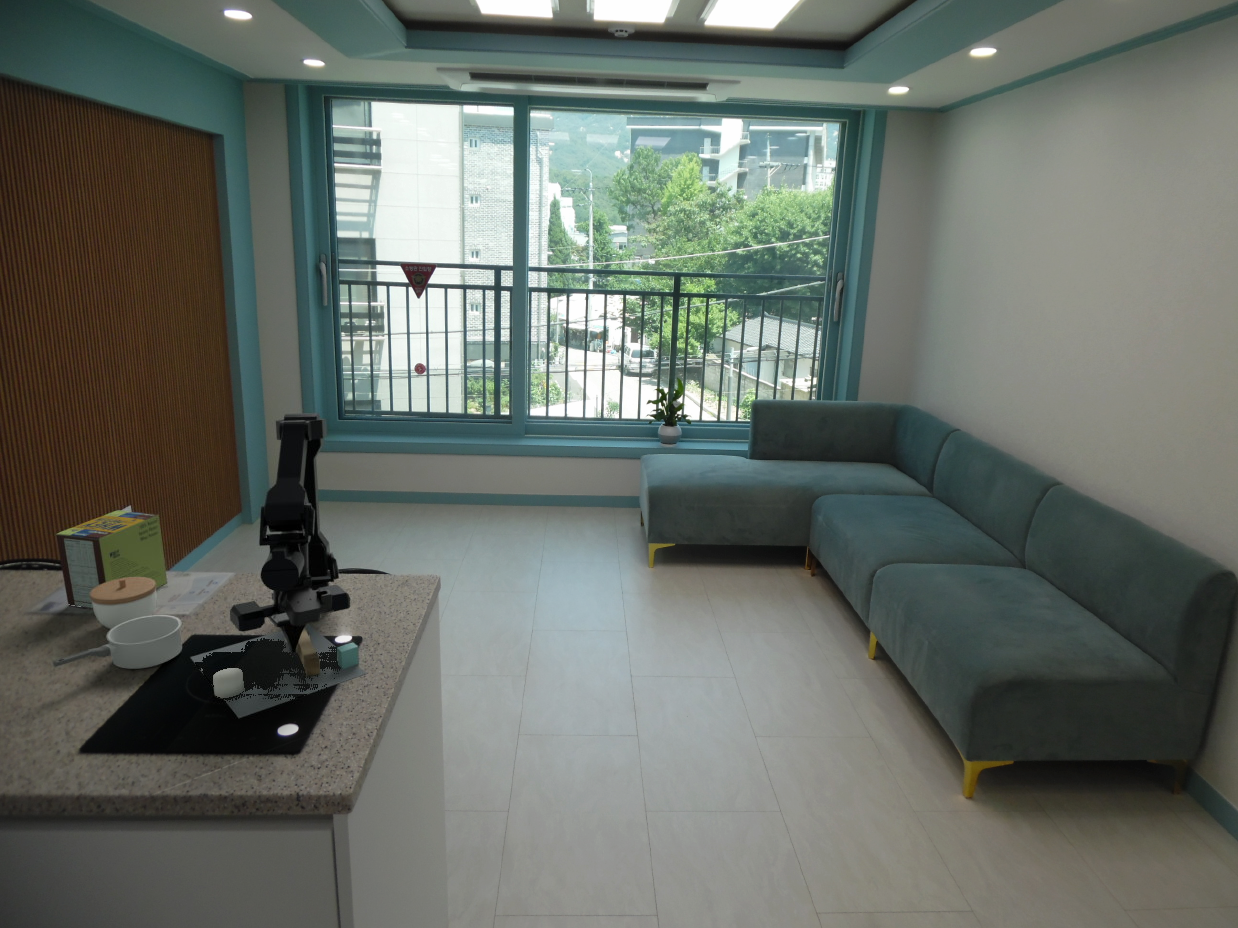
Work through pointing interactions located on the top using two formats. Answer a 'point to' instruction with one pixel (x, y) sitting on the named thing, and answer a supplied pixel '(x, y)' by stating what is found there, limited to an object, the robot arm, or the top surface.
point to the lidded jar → (123, 600)
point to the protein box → (110, 553)
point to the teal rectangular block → (347, 655)
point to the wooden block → (308, 655)
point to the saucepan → (138, 643)
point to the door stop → (228, 682)
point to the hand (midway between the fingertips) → (293, 651)
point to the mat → (286, 675)
